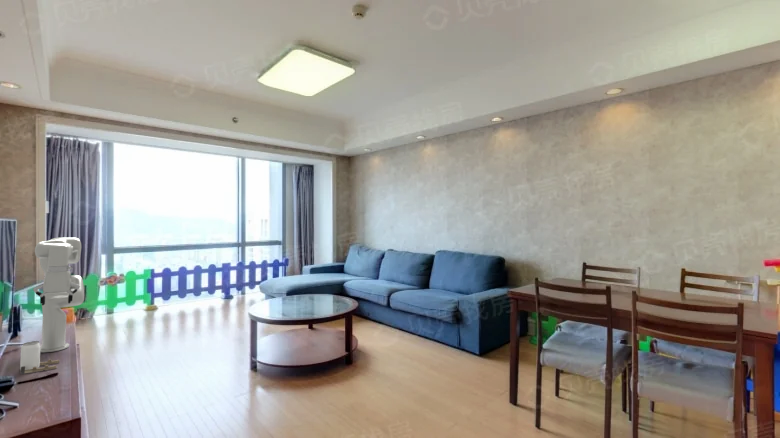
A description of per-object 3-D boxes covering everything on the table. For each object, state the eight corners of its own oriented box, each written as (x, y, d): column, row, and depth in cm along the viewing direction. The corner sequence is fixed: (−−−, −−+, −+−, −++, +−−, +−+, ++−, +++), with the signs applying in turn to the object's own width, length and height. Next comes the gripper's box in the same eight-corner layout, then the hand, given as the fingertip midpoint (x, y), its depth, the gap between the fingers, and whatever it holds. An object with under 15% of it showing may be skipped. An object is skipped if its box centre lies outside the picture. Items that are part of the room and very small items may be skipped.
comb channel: (25, 367, 172) (25, 360, 172) (59, 362, 179) (59, 356, 179) (20, 374, 164) (20, 367, 164) (56, 368, 171) (56, 362, 171)
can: (27, 372, 166) (28, 346, 166) (16, 370, 167) (17, 344, 167) (43, 366, 172) (44, 341, 172) (32, 365, 173) (33, 340, 174)
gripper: (81, 267, 189) (80, 300, 189) (35, 269, 179) (34, 304, 179) (79, 269, 183) (78, 303, 183) (32, 271, 173) (30, 307, 173)
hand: (56, 303), depth 181 cm, fingers open, 9 cm apart
